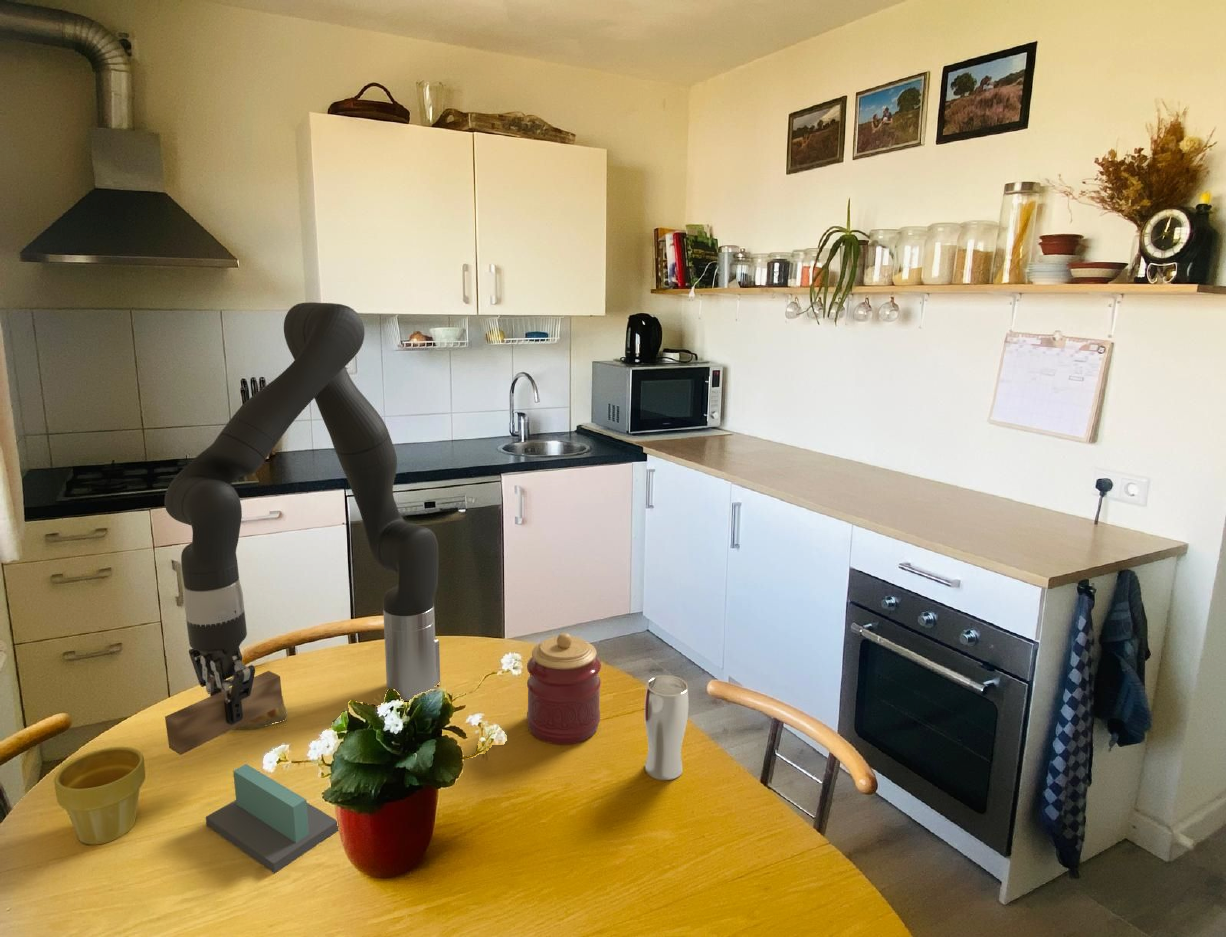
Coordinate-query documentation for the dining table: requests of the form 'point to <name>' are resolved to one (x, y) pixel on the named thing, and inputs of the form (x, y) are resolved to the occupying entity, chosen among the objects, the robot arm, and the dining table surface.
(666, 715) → the beer glass
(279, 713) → the pastry
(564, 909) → the dining table surface
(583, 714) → the canister
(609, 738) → the dining table surface
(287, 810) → the ridge stand
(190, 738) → the walnut beam
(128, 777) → the plant pot
